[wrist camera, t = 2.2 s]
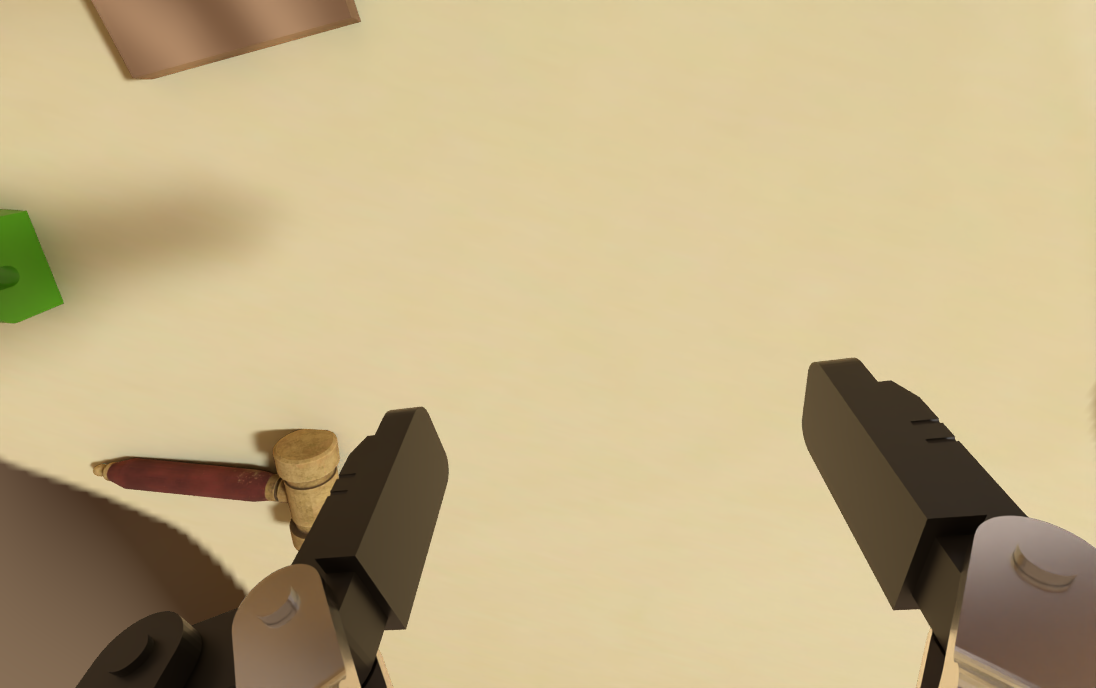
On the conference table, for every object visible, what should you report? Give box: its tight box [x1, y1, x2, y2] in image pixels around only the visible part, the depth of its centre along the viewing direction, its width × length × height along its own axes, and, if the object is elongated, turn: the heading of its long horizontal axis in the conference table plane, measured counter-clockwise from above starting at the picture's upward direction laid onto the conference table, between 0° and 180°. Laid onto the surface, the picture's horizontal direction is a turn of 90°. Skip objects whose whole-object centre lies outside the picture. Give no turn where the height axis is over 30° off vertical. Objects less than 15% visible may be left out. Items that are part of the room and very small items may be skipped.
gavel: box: [93, 429, 340, 551], centre depth 41 cm, size 21×5×10 cm
